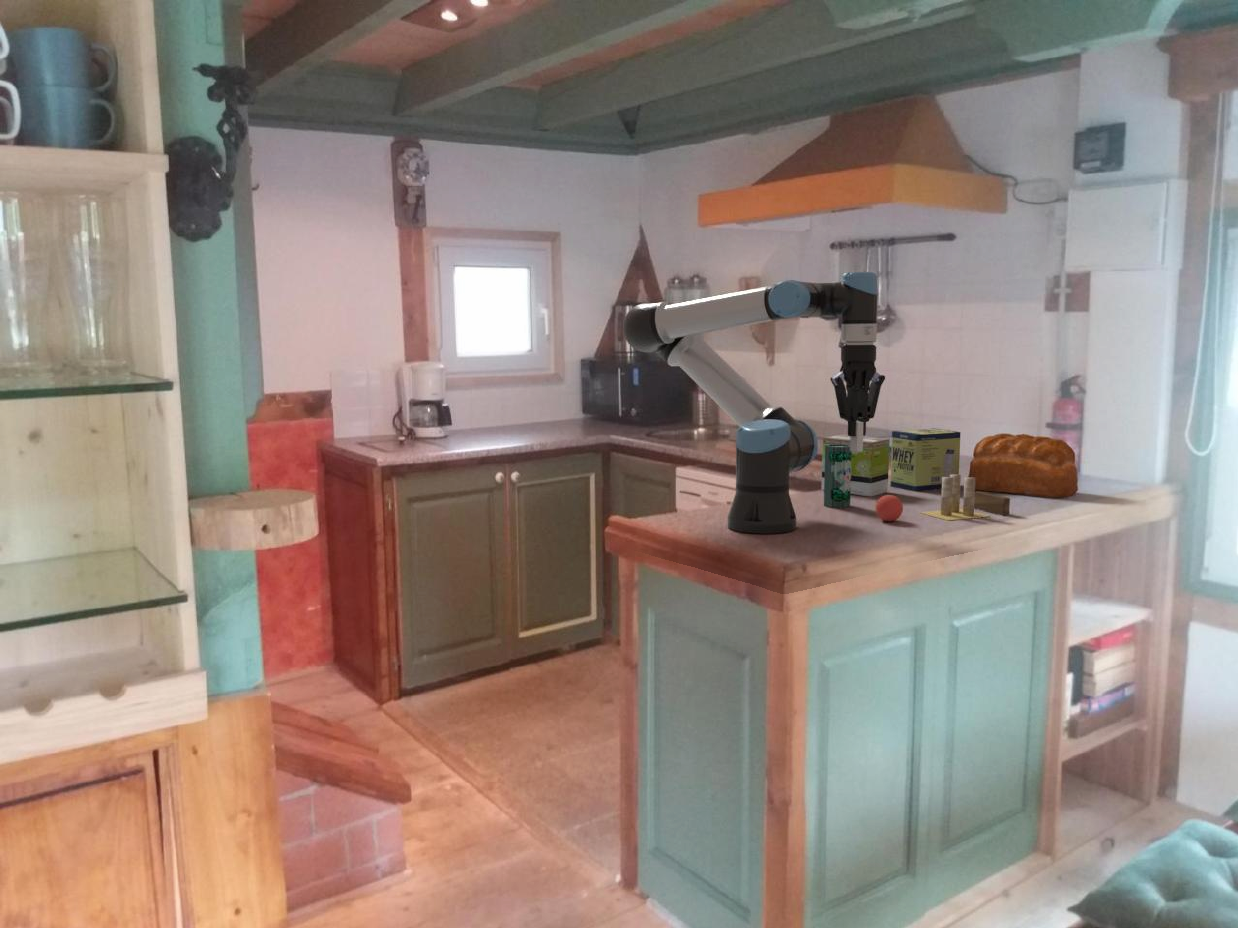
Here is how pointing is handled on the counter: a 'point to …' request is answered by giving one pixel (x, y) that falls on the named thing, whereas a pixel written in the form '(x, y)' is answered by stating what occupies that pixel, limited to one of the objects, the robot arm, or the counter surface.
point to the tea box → (865, 465)
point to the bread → (1024, 466)
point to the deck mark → (953, 515)
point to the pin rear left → (956, 492)
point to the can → (837, 476)
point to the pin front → (946, 496)
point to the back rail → (992, 503)
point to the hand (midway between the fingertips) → (856, 450)
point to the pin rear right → (969, 496)
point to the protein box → (924, 458)
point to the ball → (889, 508)
